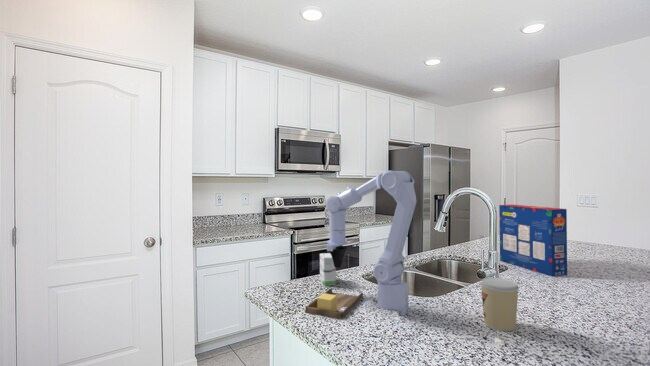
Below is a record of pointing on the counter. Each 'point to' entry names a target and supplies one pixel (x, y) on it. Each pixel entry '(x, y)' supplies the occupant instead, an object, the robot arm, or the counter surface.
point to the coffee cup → (499, 303)
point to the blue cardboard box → (534, 238)
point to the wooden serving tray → (342, 301)
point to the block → (327, 302)
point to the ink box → (327, 269)
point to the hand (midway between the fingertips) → (337, 267)
